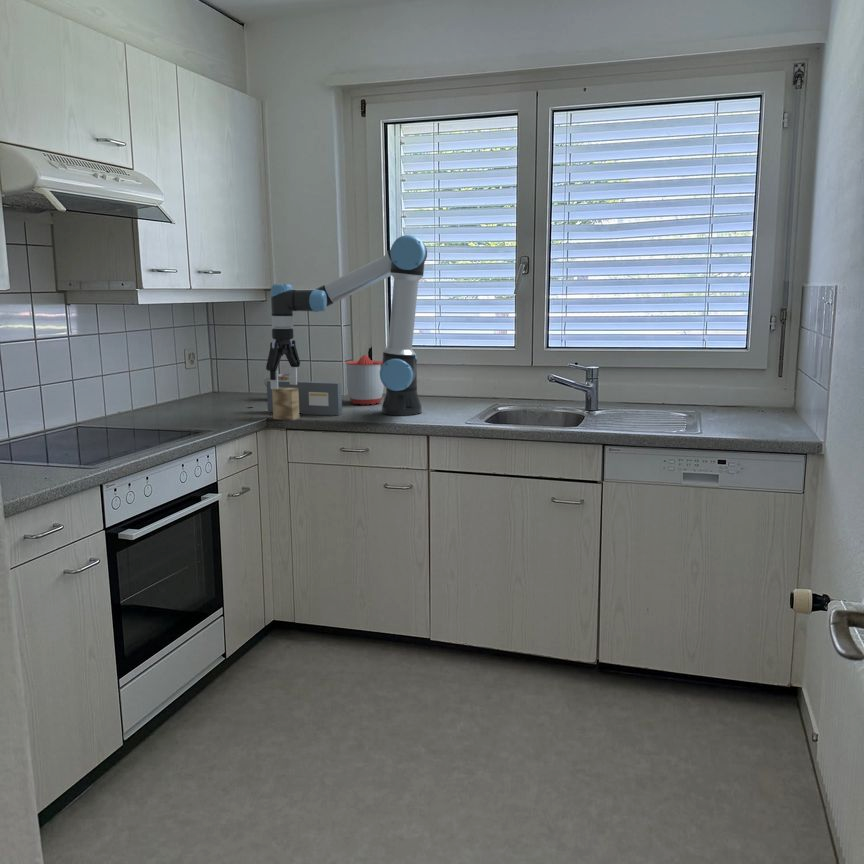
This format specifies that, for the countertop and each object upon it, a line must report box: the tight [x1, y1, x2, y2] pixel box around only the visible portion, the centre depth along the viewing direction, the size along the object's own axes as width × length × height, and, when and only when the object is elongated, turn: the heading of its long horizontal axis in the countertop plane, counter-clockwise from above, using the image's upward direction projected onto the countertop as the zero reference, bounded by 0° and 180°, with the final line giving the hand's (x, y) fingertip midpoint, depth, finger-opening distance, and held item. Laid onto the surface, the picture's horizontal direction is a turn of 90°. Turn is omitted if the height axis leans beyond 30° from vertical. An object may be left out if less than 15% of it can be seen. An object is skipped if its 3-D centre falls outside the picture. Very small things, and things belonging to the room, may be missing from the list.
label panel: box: [266, 379, 343, 417], centre depth 295 cm, size 30×4×12 cm, turn 71°
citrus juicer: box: [345, 354, 385, 406], centre depth 318 cm, size 16×17×20 cm
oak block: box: [272, 387, 301, 421], centre depth 285 cm, size 8×5×11 cm, turn 71°
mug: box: [264, 373, 290, 388], centre depth 330 cm, size 12×9×11 cm
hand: (284, 386), depth 283 cm, fingers open, 13 cm apart
